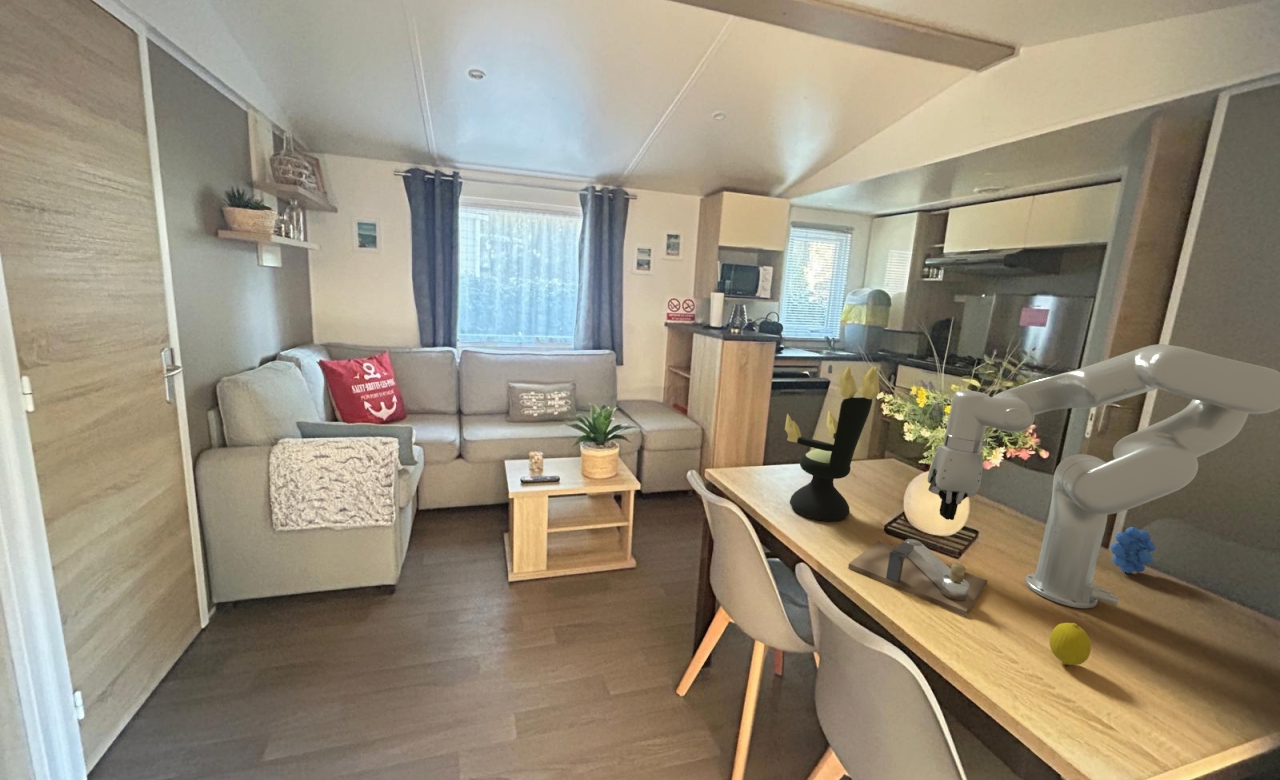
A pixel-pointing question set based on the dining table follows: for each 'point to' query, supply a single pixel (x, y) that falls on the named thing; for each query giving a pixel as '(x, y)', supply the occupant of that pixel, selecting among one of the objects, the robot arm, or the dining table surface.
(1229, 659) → the dining table surface
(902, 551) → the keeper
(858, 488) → the dining table surface
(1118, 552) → the grapes
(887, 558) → the base board
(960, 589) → the bolt
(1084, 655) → the lemon
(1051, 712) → the dining table surface
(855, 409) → the black toy throne
